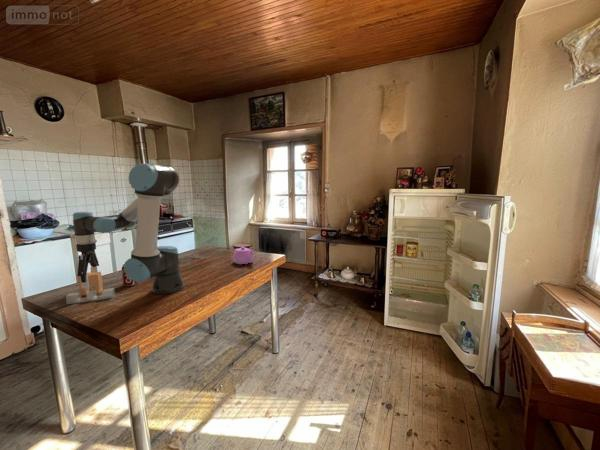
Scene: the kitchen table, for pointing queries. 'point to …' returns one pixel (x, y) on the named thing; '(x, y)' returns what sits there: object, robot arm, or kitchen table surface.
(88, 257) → the robot arm
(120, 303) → the kitchen table surface
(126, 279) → the soda can
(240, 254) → the teapot
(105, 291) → the grey segmented bar
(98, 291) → the upright orange wooden block
